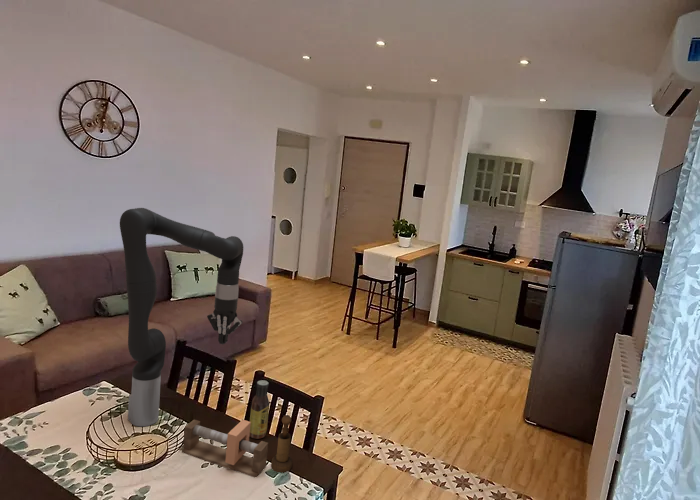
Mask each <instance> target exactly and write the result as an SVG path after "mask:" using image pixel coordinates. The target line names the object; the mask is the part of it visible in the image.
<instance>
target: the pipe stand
mask: <svg viewBox="0 0 700 500" xmlns="http://www.w3.org/2000/svg"><path fill="white" fill-rule="evenodd" d="M200 437H201V438H204V439H208V440H210V441H214V442H216V443H219V444H223V445H225V446H227V437H228V433H224V432H220V431H217V430H215V429H213V428H212V429H211V428H208V427H205V426H202V425H201V421H200V420H197V419H192V421H190V422H189V423H188V424H187V425H185V426H184V434H183V448H182V450H181V453H182V454H185V455H188V456H191V457H193V458H197V459H200V460H203V461H204V462H205V461H206V462H208V463H210V464H211V463H212V464H214V465H217V466H220V467H224V468H227V469H228V470H232V471H236V472H238V473H241V474H244V475H246V476H250V477H253V478H255V477H259V476H260V475H261V473H262V472H263V471H264V470H265V468H267V464H268V463H267V459H268V450H269V442H266V441H263V440H261V441H260V442H259V443H255V442H252V441H250V440H249V441H246V440H243V439H242V440H241V441H240V442H239V449H240V450H244V451H246V453H247V452H248V453H250V454H252V455H253V456H252V457H251V456H247V455H245V454H244V455H243V456H242V457H241V458H240V459H239V460H238V461H237V462H236V463H235V464H234V465H231V464H228V463H225V460H226V448H223V447H221V446H217V445H214V444H211V443H208V442H205V441H202V440H200ZM263 469H264V470H263Z"/></svg>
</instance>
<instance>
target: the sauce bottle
mask: <svg viewBox="0 0 700 500" xmlns="http://www.w3.org/2000/svg"><path fill="white" fill-rule="evenodd" d="M269 385H270V384H269V382H268V381H267V380H265V379H263V380H262V379H261V380H258V381H256V392H255V393H256V394H254V396H253V397H252V401H251V406H250V414H249V415H250V417H249V422H251V425H250V435H249V438H252V439H257V440H258V439H259V440H260V439H262V438H265V437H266V434H267V431H268V422H269V421H268V420H269V411H270V401H269V400H270V399H269V396H268V388H269Z"/></svg>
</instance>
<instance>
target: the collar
mask: <svg viewBox="0 0 700 500" xmlns="http://www.w3.org/2000/svg"><path fill="white" fill-rule="evenodd" d="M250 425H251V422H250V420H249V421H248V420H245V419H242V420H240V422H238V423H237V424H236V425H235V426H234V427H233V428H232V429H231V430H230V431H229V432H227V434H228V437H227V445H226V447H225V449H226V460H225V463H228V464H231V465H234V464H235V463H236V462H237V461H238V460H239V459H240V458H241V457H242V456H243V455H245V454H246V453H247V451H244V450H240V449H239V442H240V441H241V440H242V439H243V440H246V441H250Z"/></svg>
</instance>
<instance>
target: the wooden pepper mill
mask: <svg viewBox="0 0 700 500" xmlns="http://www.w3.org/2000/svg"><path fill="white" fill-rule="evenodd" d="M281 422H282V425H283V427H281V432H280V433H279V434H278V439H277V447H276V454H275V455H274V456H273V457H272V459H271V462H270V468H271V470H272V469H273V470H272V471H274V472H275V471H276V472H275V473H278V472H281V474H285V473H288V472H290V471H291V469H292V466H293V459H292V457H291V456H290V446H291V439H292V437H291V436H292V435H291V433H289V432H290V428H289V426H290V424H291V423H292V417H291V415H288V414H285V415H283V417H281ZM282 472H283V473H282ZM284 472H285V473H284Z"/></svg>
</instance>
